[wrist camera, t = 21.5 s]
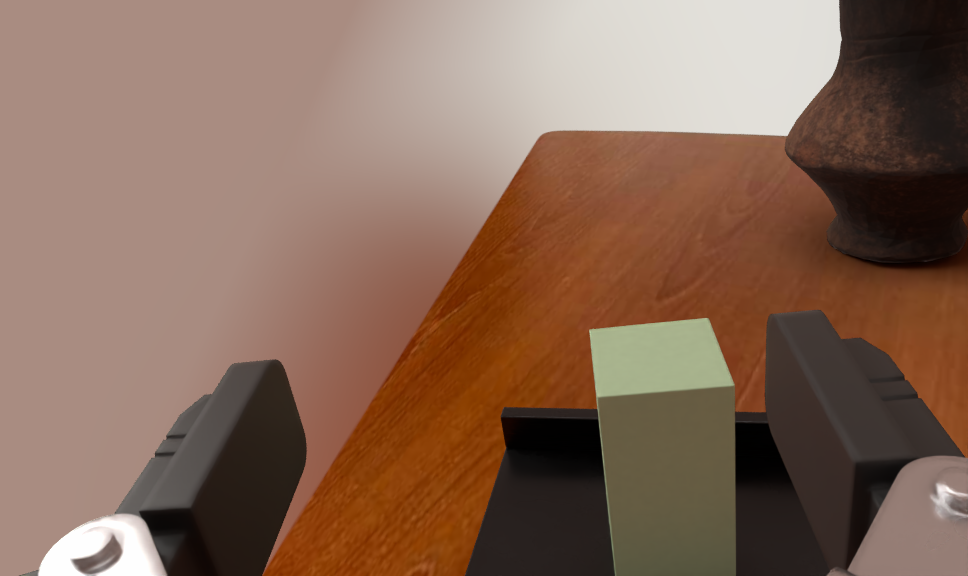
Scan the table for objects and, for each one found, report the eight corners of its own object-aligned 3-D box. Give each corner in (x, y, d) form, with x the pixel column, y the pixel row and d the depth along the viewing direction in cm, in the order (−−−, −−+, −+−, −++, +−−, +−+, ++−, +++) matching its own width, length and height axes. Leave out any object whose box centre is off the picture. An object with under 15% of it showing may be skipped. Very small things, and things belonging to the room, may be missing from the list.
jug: (911, 316, 58) (963, -137, 44) (739, 242, 73) (738, -111, 60) (1093, 234, 64) (1185, -180, 51) (900, 182, 80) (932, -147, 67)
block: (616, 584, 30) (596, 397, 26) (607, 502, 35) (589, 329, 30) (736, 577, 30) (734, 384, 26) (712, 494, 34) (708, 317, 30)
